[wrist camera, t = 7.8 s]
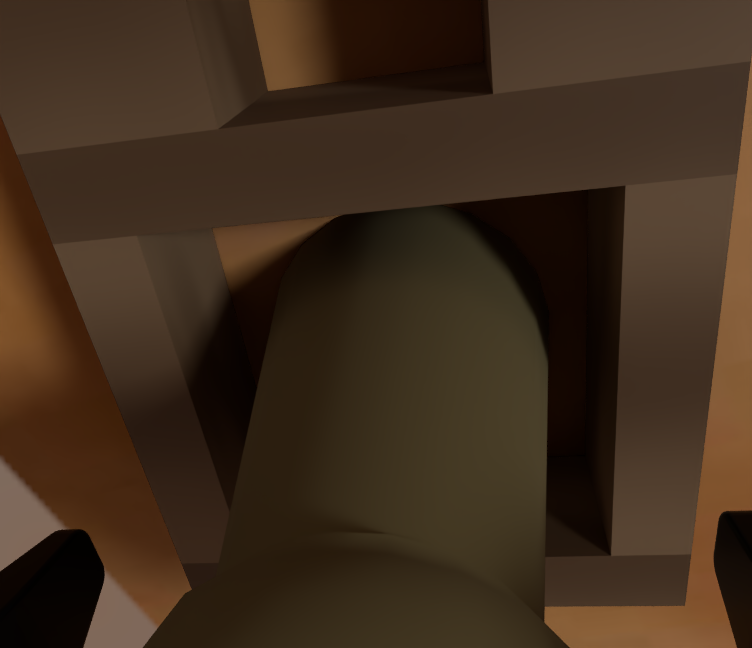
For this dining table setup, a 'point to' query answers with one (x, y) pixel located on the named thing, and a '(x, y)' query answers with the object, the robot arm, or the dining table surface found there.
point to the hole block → (386, 192)
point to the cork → (390, 450)
